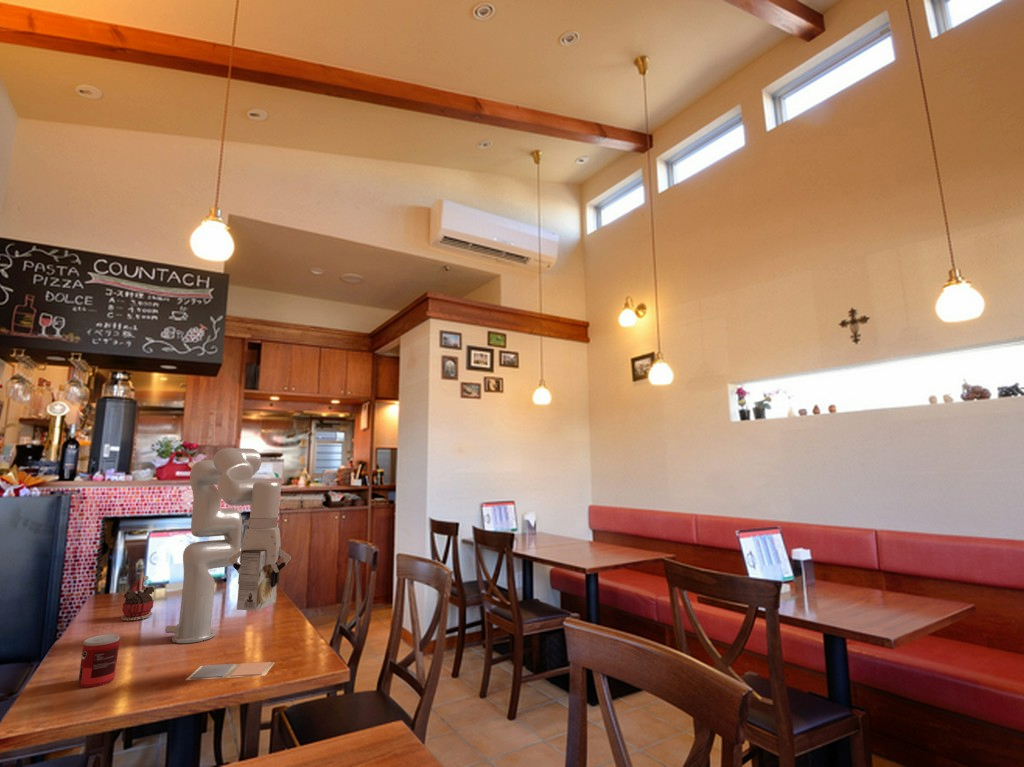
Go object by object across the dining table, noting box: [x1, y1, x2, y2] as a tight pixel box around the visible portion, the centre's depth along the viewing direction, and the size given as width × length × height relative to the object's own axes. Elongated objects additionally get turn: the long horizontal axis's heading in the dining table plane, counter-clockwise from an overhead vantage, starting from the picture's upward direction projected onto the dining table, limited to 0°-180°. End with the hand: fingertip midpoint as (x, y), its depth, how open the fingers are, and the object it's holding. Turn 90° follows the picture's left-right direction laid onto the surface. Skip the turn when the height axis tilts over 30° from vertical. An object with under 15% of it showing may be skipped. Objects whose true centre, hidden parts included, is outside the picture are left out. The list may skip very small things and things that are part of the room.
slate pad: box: [190, 663, 235, 680], centre depth 144 cm, size 8×9×1 cm
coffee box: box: [236, 550, 280, 612], centre depth 150 cm, size 9×6×16 cm
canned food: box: [78, 633, 121, 688], centre depth 140 cm, size 8×8×11 cm
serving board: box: [185, 661, 276, 681], centre depth 145 cm, size 20×10×1 cm, turn 100°
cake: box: [120, 568, 155, 621], centre depth 200 cm, size 11×9×18 cm
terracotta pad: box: [230, 661, 271, 678], centre depth 146 cm, size 8×9×1 cm
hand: (258, 586), depth 149 cm, fingers closed on coffee box, 7 cm apart
